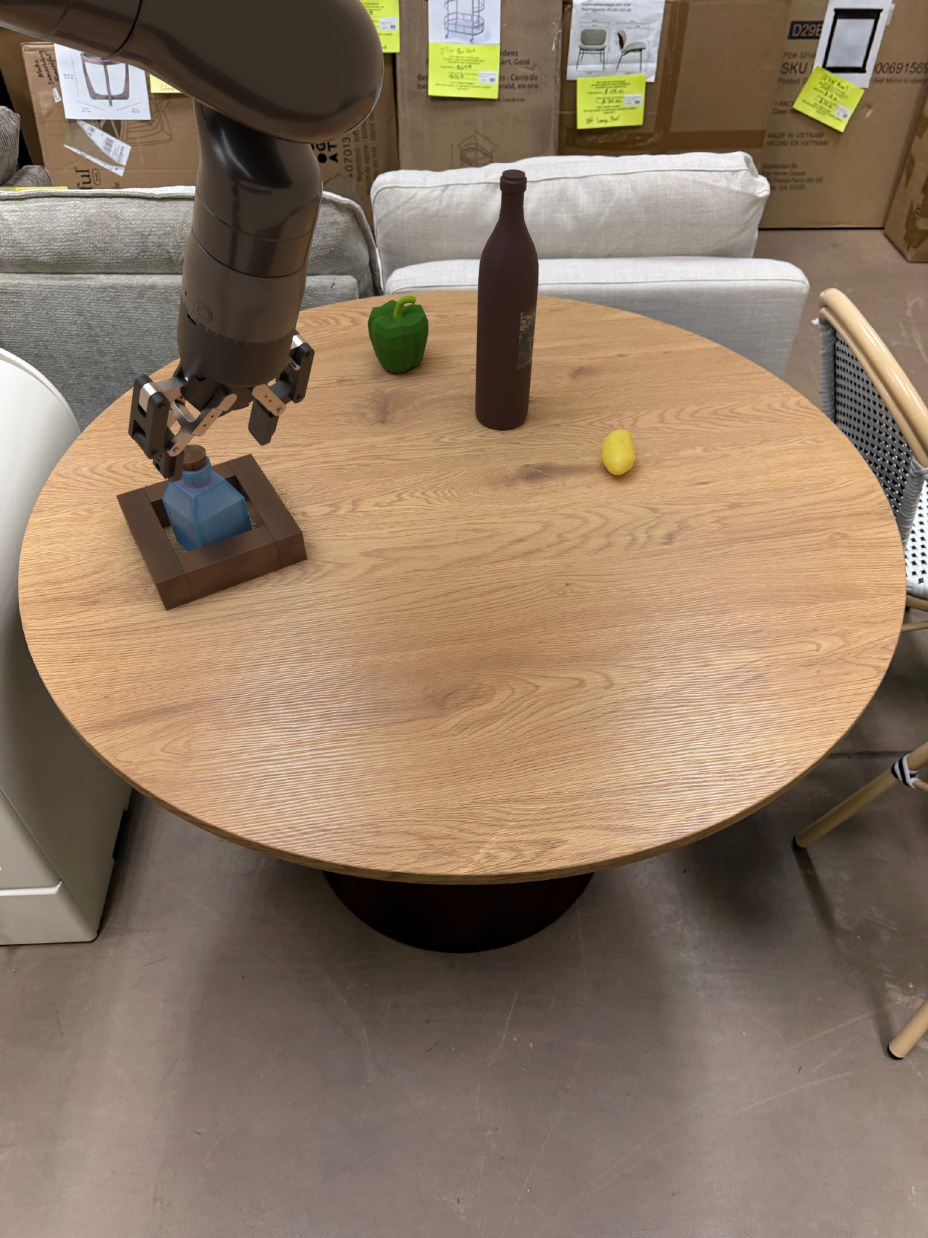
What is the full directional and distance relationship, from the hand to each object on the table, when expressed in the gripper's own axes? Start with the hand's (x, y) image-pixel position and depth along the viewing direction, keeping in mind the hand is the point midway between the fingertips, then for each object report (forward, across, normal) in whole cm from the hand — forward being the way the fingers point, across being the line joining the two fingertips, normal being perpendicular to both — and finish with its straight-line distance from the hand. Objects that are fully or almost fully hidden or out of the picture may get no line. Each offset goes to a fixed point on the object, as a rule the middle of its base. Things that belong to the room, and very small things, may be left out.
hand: (215, 455), depth 66 cm
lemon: (+12, -50, +15) cm, 53 cm away
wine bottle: (+18, -48, -1) cm, 51 cm away
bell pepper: (+26, -47, -18) cm, 57 cm away
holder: (+25, -7, -6) cm, 27 cm away
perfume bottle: (+25, -7, -6) cm, 27 cm away
